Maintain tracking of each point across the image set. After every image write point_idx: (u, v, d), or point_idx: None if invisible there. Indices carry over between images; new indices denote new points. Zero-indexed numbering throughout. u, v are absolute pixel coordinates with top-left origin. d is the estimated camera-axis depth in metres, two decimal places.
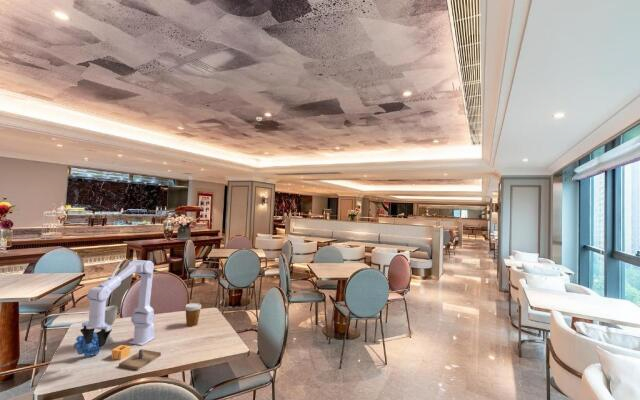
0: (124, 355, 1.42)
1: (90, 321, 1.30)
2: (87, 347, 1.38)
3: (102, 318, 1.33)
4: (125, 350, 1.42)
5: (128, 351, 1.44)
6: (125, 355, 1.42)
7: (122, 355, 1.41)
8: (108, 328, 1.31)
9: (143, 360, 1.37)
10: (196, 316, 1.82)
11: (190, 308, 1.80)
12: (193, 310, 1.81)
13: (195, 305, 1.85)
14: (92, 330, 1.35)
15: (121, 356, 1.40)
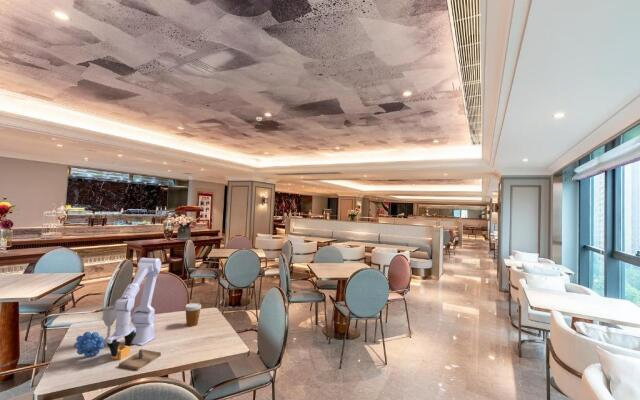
0: (124, 355, 1.42)
1: None
2: (87, 347, 1.38)
3: (118, 329, 1.40)
4: (125, 350, 1.42)
5: (128, 351, 1.44)
6: (125, 355, 1.42)
7: (122, 355, 1.41)
8: (108, 340, 1.36)
9: (143, 360, 1.37)
10: (196, 316, 1.82)
11: (190, 308, 1.80)
12: (193, 310, 1.81)
13: (195, 305, 1.85)
14: (130, 338, 1.46)
15: (121, 356, 1.40)
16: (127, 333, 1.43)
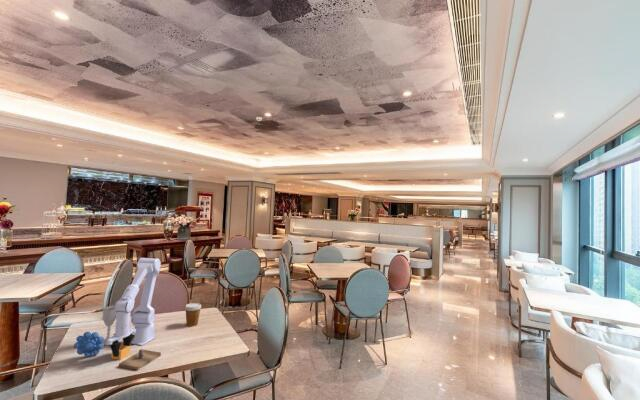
0: (124, 355, 1.42)
1: None
2: (87, 347, 1.38)
3: (118, 330, 1.40)
4: (125, 350, 1.42)
5: (128, 351, 1.44)
6: (125, 355, 1.42)
7: (122, 355, 1.41)
8: (108, 342, 1.36)
9: (143, 360, 1.37)
10: (196, 316, 1.82)
11: (190, 308, 1.80)
12: (193, 310, 1.81)
13: (195, 305, 1.85)
14: (128, 340, 1.45)
15: (121, 356, 1.40)
16: (127, 334, 1.43)
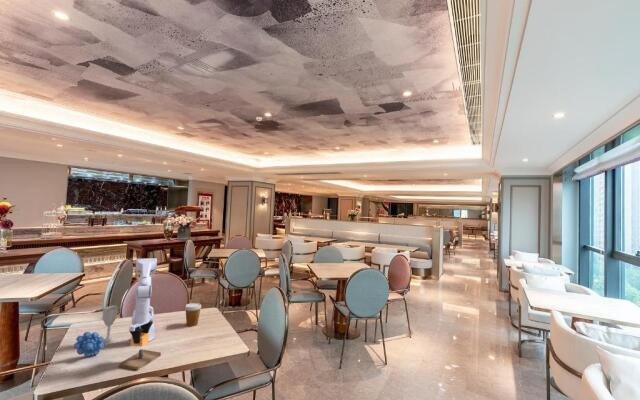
0: (144, 342, 1.39)
1: None
2: (87, 347, 1.38)
3: (139, 317, 1.37)
4: (145, 337, 1.40)
5: (147, 338, 1.42)
6: (145, 342, 1.40)
7: (143, 341, 1.38)
8: (131, 328, 1.33)
9: (143, 360, 1.37)
10: (196, 316, 1.82)
11: (190, 308, 1.80)
12: (193, 310, 1.81)
13: (195, 305, 1.85)
14: (147, 326, 1.43)
15: (142, 343, 1.38)
16: (147, 321, 1.40)
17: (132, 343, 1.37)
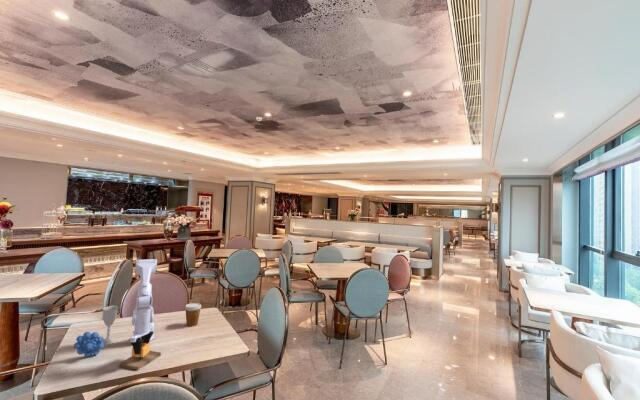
0: (145, 352, 1.39)
1: None
2: (87, 347, 1.38)
3: (139, 327, 1.37)
4: (146, 347, 1.39)
5: (148, 348, 1.41)
6: (146, 352, 1.40)
7: (144, 352, 1.38)
8: (132, 339, 1.33)
9: (143, 360, 1.37)
10: (196, 316, 1.82)
11: (190, 308, 1.80)
12: (193, 310, 1.81)
13: (195, 305, 1.85)
14: (147, 337, 1.43)
15: (143, 353, 1.37)
16: (148, 331, 1.40)
17: (133, 354, 1.37)
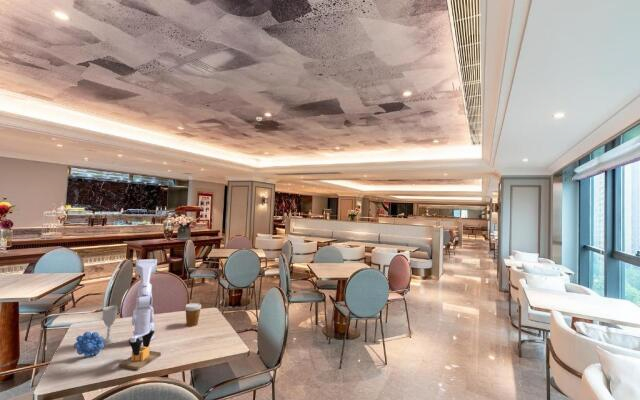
0: (145, 356, 1.39)
1: None
2: (87, 347, 1.38)
3: (139, 327, 1.37)
4: (146, 351, 1.39)
5: (148, 352, 1.41)
6: (146, 356, 1.40)
7: (144, 356, 1.38)
8: (132, 339, 1.33)
9: (143, 360, 1.37)
10: (196, 316, 1.82)
11: (190, 308, 1.80)
12: (193, 310, 1.81)
13: (195, 305, 1.85)
14: (149, 336, 1.43)
15: (143, 357, 1.37)
16: (148, 331, 1.40)
17: (133, 357, 1.37)
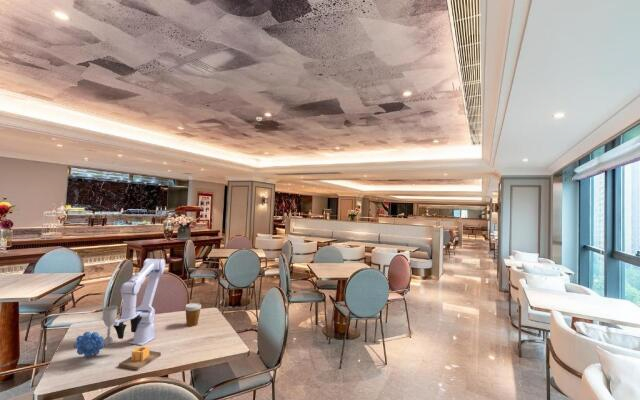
0: (145, 356, 1.39)
1: None
2: (87, 347, 1.38)
3: (124, 312, 1.42)
4: (146, 351, 1.39)
5: (148, 352, 1.41)
6: (146, 356, 1.40)
7: (144, 356, 1.38)
8: (115, 323, 1.38)
9: (143, 360, 1.37)
10: (196, 316, 1.82)
11: (190, 308, 1.80)
12: (193, 310, 1.81)
13: (195, 305, 1.85)
14: (136, 321, 1.48)
15: (143, 357, 1.37)
16: (133, 316, 1.45)
17: (133, 357, 1.37)
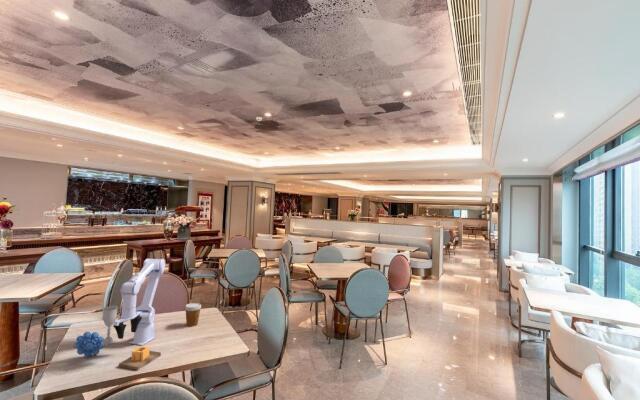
0: (145, 356, 1.39)
1: None
2: (87, 347, 1.38)
3: (124, 312, 1.42)
4: (146, 351, 1.39)
5: (148, 352, 1.41)
6: (146, 356, 1.40)
7: (144, 356, 1.38)
8: (115, 323, 1.38)
9: (143, 360, 1.37)
10: (196, 316, 1.82)
11: (190, 308, 1.80)
12: (193, 310, 1.81)
13: (195, 305, 1.85)
14: (136, 321, 1.48)
15: (143, 357, 1.37)
16: (133, 316, 1.45)
17: (133, 357, 1.37)
